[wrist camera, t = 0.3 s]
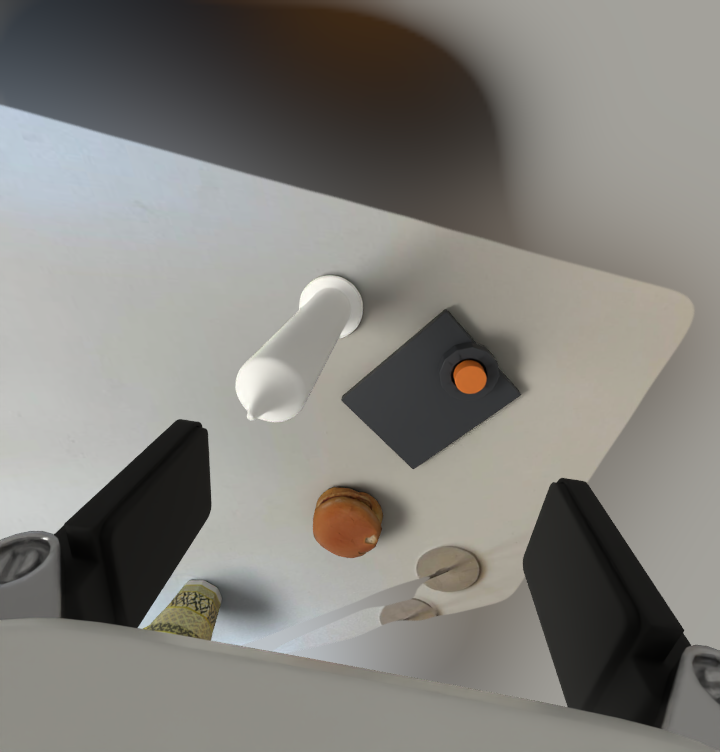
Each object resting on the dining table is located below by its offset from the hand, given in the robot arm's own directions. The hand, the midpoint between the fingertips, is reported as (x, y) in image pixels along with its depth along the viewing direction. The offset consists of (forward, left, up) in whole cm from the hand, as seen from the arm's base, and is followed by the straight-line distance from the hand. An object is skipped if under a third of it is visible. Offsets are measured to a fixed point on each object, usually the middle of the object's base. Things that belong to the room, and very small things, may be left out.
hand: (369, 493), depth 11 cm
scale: (+6, +12, -34) cm, 37 cm away
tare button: (+1, +12, -32) cm, 34 cm away
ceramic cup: (+59, +15, -35) cm, 70 cm away
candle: (+8, -3, -35) cm, 35 cm away
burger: (+26, +19, -35) cm, 48 cm away
